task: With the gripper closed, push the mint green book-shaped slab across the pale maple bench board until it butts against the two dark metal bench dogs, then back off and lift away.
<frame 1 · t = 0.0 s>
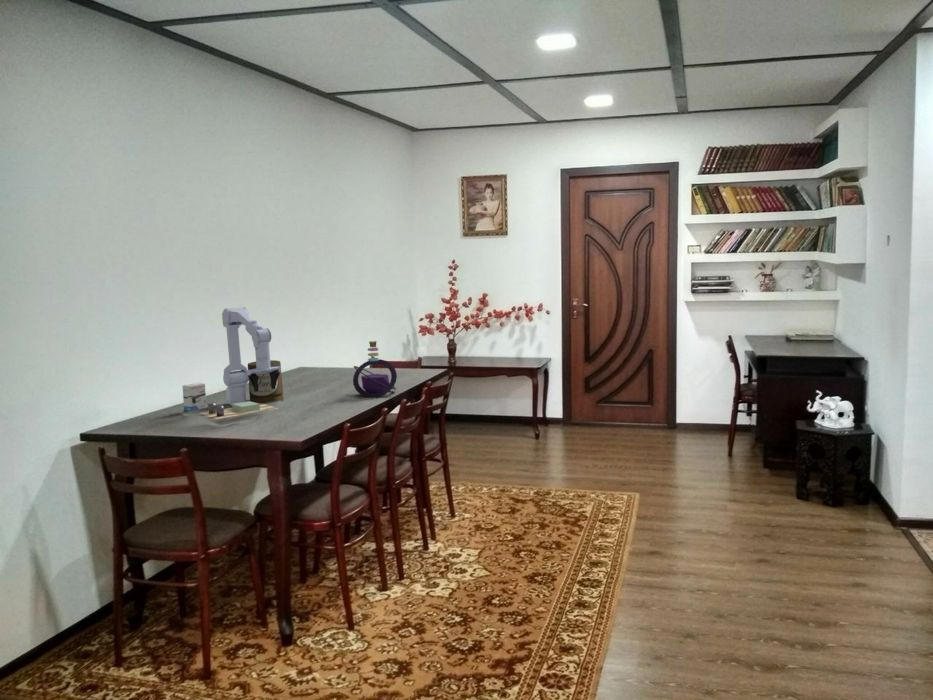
hand: (264, 390, 320), 10 cm above the table, tool pointing down, fingers open, 7 cm apart
mint green book-shaped slab: (245, 409, 327), point 1 cm above the table, touching bench board
ink box: (195, 411, 333), on the table
wooden container: (266, 402, 349), on the table
bench dogs: (216, 416, 318), resting on bench board
bench board: (239, 413, 325), on the table
decorative bottle: (375, 394, 360), on the table
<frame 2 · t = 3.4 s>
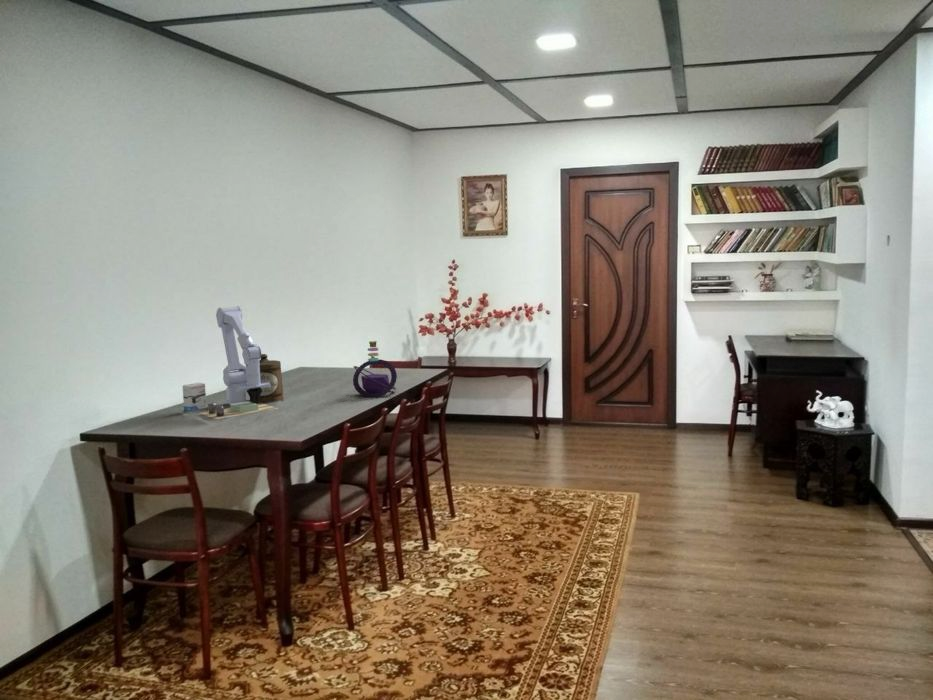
hand: (255, 405, 329), 2 cm above the table, tool pointing down, fingers closed
mint green book-shaped slab: (244, 409, 326), point 1 cm above the table
everything else where it was.
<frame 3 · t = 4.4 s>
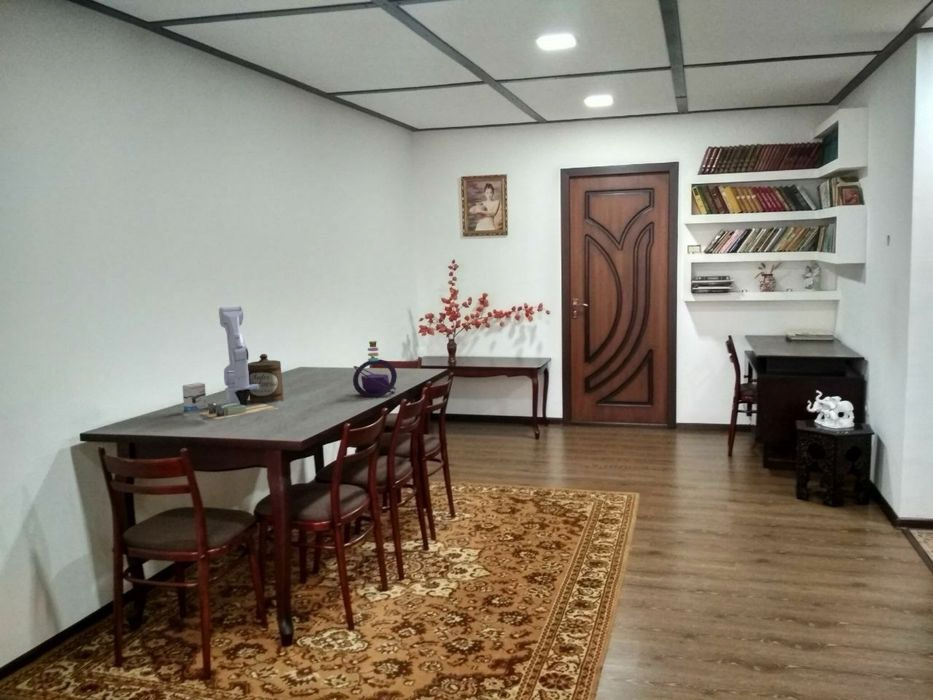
hand: (243, 407, 326), 2 cm above the table, tool pointing down, fingers closed
mint green book-shaped slab: (232, 411, 323), point 1 cm above the table, touching bench board, gripper
everything else where it was.
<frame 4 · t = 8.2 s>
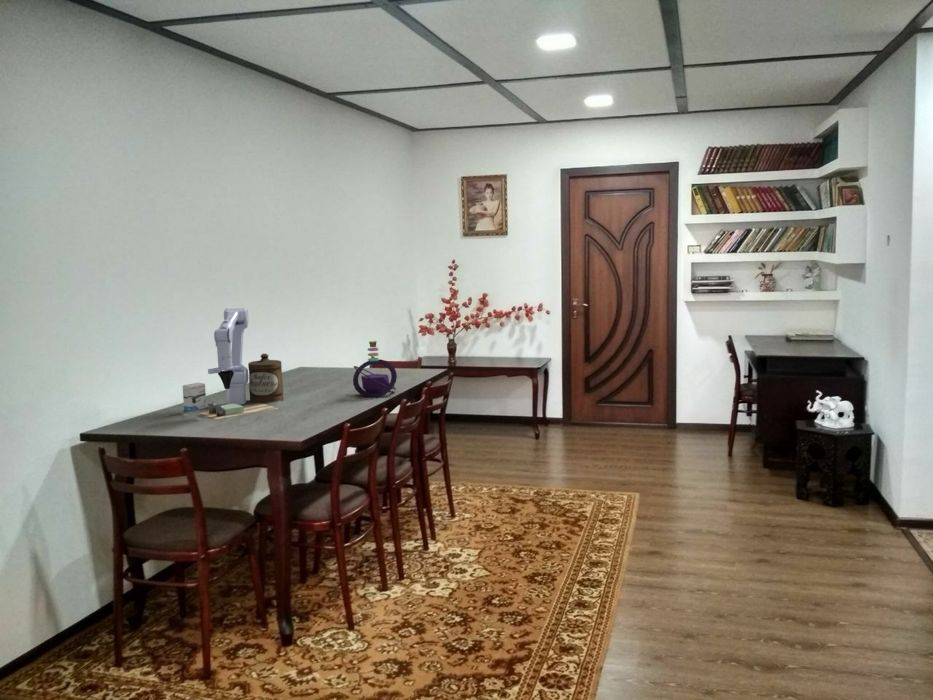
hand: (227, 388, 325), 10 cm above the table, tool pointing down, fingers closed
mint green book-shaped slab: (230, 412, 322), point 1 cm above the table, touching bench board
wooden container: (266, 401, 349), on the table, touching arm
everything else where it was.
at the end: mint green book-shaped slab 0.2 cm from the target spot, point 1.0 cm above the table; mint green book-shaped slab moved 7.1 cm from its start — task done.
